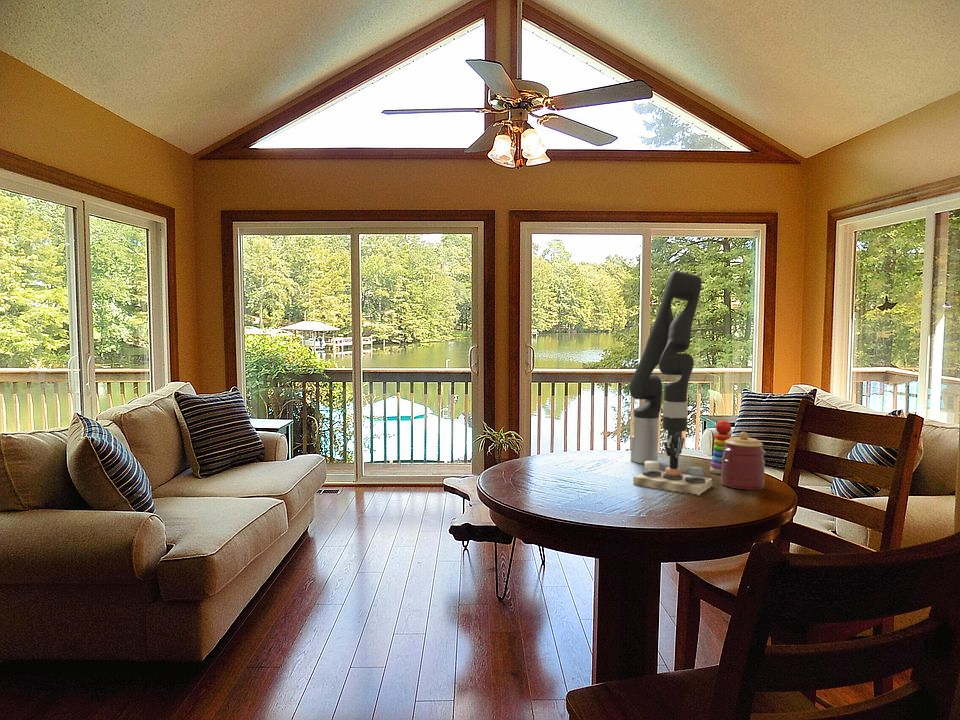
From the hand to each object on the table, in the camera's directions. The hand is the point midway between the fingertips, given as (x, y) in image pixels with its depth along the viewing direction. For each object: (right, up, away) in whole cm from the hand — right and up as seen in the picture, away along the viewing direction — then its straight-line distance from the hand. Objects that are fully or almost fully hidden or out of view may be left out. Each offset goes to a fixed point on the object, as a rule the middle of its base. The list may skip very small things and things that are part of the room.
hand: (673, 468), depth 189 cm
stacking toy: (+23, -5, +19) cm, 31 cm away
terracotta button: (0, -2, 0) cm, 2 cm away
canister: (+23, -6, +1) cm, 23 cm away
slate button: (+5, -1, -4) cm, 7 cm away
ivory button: (-6, -1, +4) cm, 7 cm away
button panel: (0, -6, 0) cm, 6 cm away
